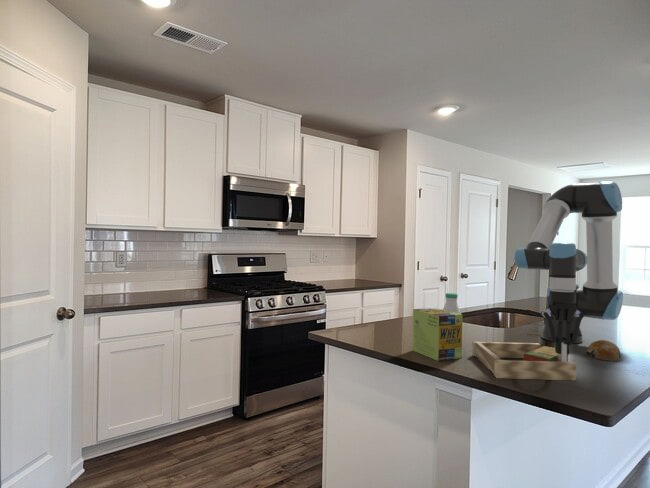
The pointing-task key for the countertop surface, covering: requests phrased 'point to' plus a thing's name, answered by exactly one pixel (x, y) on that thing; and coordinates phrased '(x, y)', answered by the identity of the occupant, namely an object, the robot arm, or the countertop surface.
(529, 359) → the carton
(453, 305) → the milk bottle
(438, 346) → the protein box
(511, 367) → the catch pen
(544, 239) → the robot arm
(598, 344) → the bread roll
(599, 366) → the countertop surface
